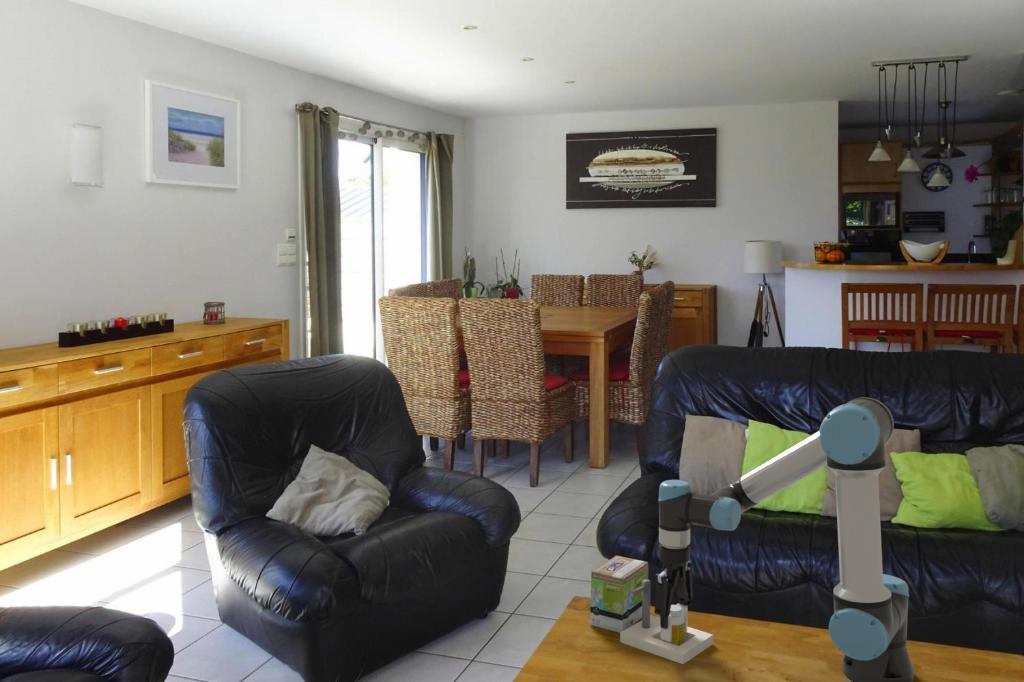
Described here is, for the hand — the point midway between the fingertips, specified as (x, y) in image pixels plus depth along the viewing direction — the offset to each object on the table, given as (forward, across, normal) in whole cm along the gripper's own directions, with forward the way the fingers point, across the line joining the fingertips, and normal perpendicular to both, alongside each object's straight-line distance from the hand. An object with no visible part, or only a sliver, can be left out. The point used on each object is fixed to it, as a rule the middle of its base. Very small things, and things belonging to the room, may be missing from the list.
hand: (674, 634), depth 217 cm
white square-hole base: (+3, 0, -2) cm, 4 cm away
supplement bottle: (+3, 0, 0) cm, 3 cm away
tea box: (+3, -4, -19) cm, 20 cm away
